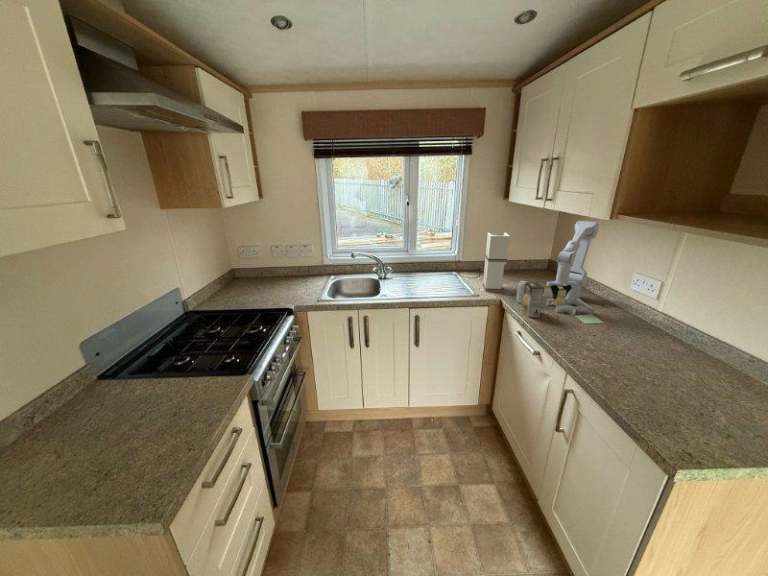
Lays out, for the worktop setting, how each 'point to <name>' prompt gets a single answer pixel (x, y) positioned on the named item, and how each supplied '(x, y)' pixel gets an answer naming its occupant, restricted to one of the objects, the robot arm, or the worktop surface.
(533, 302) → the coffee box
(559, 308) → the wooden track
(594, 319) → the end pad
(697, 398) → the worktop surface
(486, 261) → the tall white stacked column
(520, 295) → the beverage can
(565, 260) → the robot arm
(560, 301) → the birch block
